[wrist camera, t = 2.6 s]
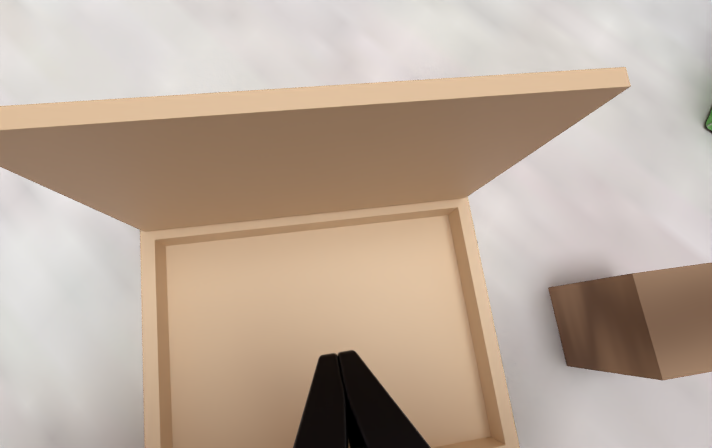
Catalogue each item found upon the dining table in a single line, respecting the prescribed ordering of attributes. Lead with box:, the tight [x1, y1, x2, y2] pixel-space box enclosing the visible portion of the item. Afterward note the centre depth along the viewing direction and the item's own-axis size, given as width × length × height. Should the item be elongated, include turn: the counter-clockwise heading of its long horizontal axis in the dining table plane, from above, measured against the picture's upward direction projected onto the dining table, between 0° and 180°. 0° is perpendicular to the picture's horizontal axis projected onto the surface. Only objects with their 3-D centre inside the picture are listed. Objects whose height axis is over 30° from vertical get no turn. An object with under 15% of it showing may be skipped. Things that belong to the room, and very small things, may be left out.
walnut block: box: [548, 263, 712, 380], centre depth 19 cm, size 4×4×6 cm
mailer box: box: [140, 196, 520, 448], centre depth 19 cm, size 12×15×2 cm
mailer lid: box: [0, 67, 631, 231], centre depth 14 cm, size 11×15×1 cm
